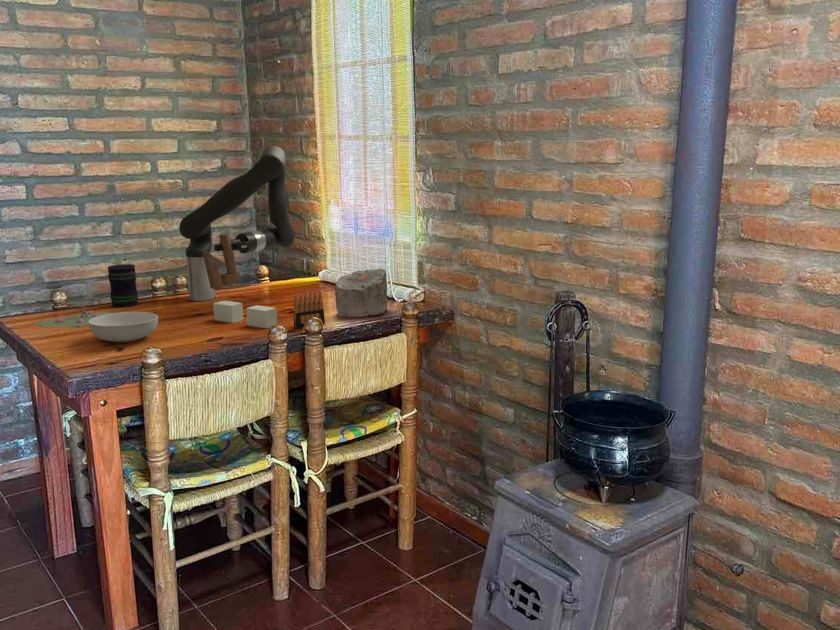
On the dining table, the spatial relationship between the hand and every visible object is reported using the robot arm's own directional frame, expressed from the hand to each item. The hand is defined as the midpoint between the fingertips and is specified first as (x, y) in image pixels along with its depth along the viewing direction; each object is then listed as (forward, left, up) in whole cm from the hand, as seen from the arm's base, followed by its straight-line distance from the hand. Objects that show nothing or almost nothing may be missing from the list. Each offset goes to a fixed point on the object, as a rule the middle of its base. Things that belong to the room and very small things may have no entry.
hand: (215, 248), depth 282 cm
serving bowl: (+41, 0, -24) cm, 47 cm away
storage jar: (+8, -44, -24) cm, 51 cm away
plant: (+33, -38, -25) cm, 56 cm away
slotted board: (+6, +18, -24) cm, 30 cm away
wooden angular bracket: (-3, +1, -14) cm, 14 cm away
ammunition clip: (-2, +40, -24) cm, 47 cm away
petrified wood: (-26, +44, -24) cm, 57 cm away
